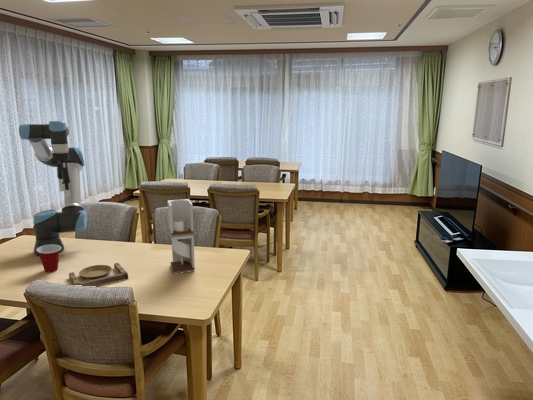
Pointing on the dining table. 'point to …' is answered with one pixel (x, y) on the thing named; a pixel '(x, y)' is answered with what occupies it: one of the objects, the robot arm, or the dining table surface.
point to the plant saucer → (95, 272)
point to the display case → (181, 235)
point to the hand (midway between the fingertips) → (65, 193)
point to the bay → (101, 281)
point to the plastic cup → (49, 257)
